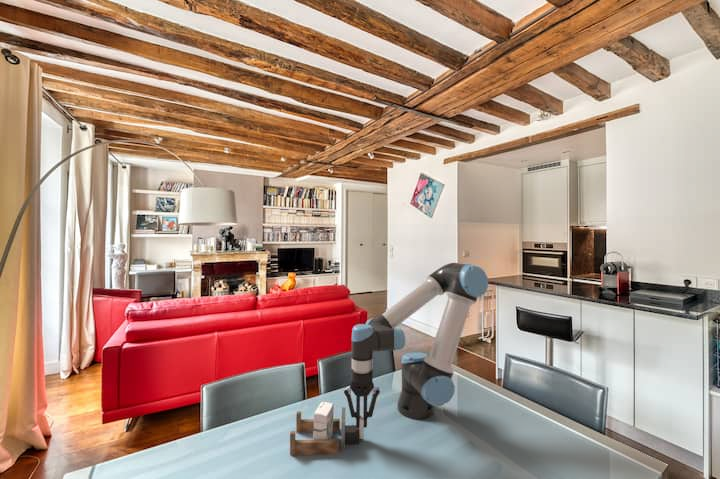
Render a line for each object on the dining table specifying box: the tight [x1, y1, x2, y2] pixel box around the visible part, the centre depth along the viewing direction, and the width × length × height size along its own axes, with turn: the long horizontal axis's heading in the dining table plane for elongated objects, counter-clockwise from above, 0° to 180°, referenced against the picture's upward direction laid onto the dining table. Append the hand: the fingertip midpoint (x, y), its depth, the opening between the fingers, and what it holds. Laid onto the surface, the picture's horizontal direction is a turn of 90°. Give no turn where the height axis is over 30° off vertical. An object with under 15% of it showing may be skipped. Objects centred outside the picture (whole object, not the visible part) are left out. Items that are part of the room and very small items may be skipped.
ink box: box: [312, 401, 335, 440], centre depth 108 cm, size 9×5×12 cm, turn 168°
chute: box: [289, 410, 341, 456], centre depth 108 cm, size 16×14×7 cm
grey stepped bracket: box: [340, 406, 360, 450], centre depth 109 cm, size 6×10×9 cm, turn 2°
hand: (361, 435), depth 109 cm, fingers closed
